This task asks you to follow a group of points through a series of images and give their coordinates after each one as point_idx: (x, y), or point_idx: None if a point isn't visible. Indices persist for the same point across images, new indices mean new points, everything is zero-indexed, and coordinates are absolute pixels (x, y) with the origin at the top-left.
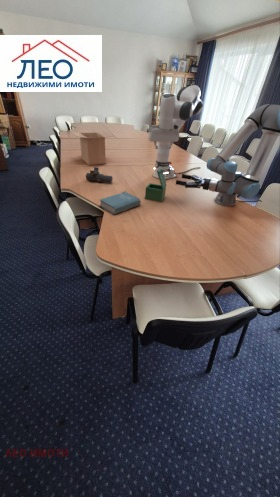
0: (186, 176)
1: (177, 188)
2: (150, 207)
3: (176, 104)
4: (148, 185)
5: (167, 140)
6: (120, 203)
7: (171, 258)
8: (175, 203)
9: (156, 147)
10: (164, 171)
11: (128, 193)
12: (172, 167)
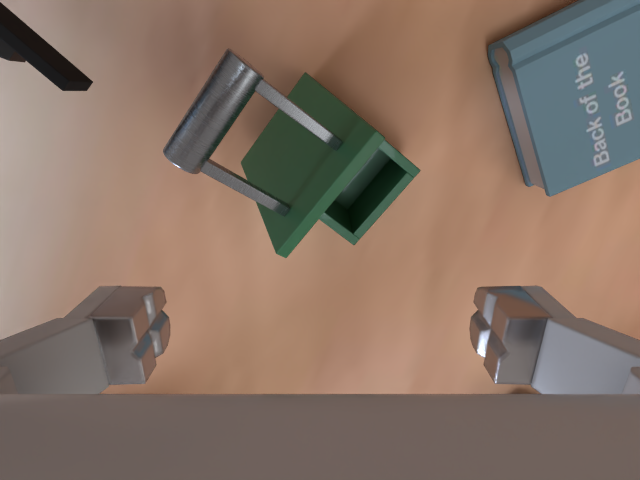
0: (28, 38)
1: (118, 272)
2: (423, 4)
3: None
4: (384, 202)
5: (153, 423)
6: None
7: None
8: (216, 33)
9: (533, 301)
10: (297, 105)
11: (543, 161)
12: (166, 148)
